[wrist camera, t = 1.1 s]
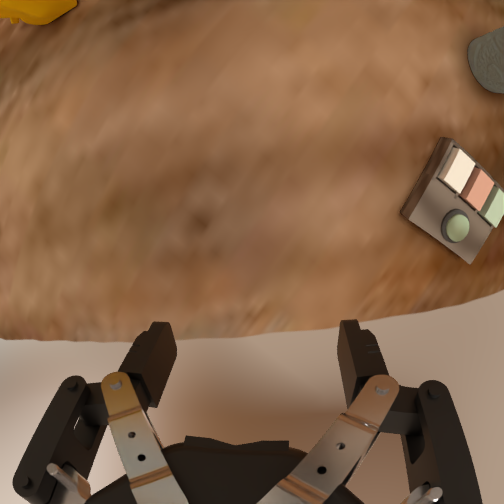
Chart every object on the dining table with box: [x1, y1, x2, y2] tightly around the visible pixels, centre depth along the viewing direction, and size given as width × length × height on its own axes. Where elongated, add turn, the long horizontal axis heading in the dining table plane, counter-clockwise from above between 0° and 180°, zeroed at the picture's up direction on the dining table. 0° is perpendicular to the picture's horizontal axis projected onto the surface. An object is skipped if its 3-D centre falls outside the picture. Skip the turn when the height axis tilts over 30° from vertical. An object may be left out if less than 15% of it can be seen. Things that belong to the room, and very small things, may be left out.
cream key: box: [437, 147, 475, 193], centre depth 30 cm, size 5×3×2 cm
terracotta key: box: [458, 167, 494, 211], centre depth 30 cm, size 5×3×2 cm
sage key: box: [477, 186, 504, 227], centre depth 31 cm, size 5×3×2 cm
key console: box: [400, 137, 504, 264], centre depth 33 cm, size 12×14×4 cm
